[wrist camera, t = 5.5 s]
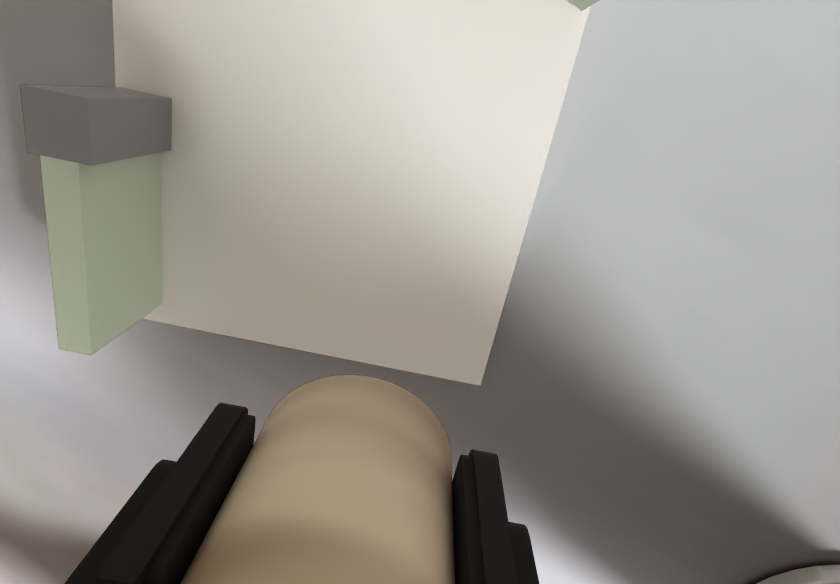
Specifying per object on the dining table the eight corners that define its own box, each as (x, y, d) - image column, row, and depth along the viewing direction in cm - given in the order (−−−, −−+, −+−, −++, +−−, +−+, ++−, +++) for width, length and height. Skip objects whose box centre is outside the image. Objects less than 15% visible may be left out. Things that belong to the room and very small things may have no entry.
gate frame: (479, 379, 24) (489, 454, 19) (131, 310, 23) (44, 368, 18) (713, -434, 13) (873, -749, 8) (104, -590, 13) (-111, -1024, 8)
